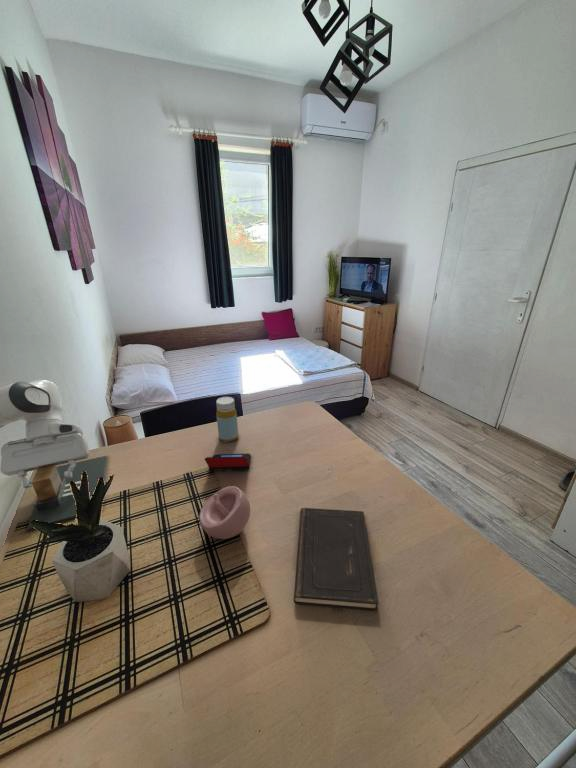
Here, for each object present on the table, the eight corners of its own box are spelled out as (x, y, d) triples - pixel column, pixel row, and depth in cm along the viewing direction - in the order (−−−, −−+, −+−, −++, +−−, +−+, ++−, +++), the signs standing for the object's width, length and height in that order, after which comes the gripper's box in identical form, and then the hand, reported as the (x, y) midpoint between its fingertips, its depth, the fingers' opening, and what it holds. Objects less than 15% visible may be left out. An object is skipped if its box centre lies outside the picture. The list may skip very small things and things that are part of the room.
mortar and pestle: (201, 516, 84) (196, 481, 79) (247, 507, 86) (245, 472, 82) (202, 556, 73) (196, 517, 69) (254, 544, 76) (252, 506, 71)
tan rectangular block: (37, 511, 85) (27, 486, 82) (46, 487, 93) (37, 464, 90) (59, 505, 87) (50, 481, 84) (66, 482, 95) (58, 459, 92)
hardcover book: (363, 518, 83) (363, 511, 82) (377, 611, 62) (378, 603, 61) (300, 514, 84) (300, 507, 83) (293, 604, 63) (293, 596, 62)
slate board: (27, 531, 80) (26, 529, 80) (50, 470, 102) (49, 468, 101) (100, 511, 86) (100, 508, 86) (107, 457, 108) (106, 455, 107)
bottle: (224, 431, 122) (221, 395, 117) (241, 433, 120) (238, 397, 114) (215, 440, 116) (211, 403, 110) (233, 444, 114) (229, 406, 108)
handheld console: (251, 456, 108) (250, 436, 105) (248, 477, 98) (246, 457, 95) (213, 456, 108) (211, 437, 105) (206, 478, 98) (203, 457, 95)
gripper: (-6, 440, 87) (-5, 492, 82) (82, 423, 94) (87, 470, 90) (6, 445, 92) (7, 494, 88) (88, 429, 100) (93, 474, 95)
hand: (48, 482), depth 89 cm, fingers open, 8 cm apart
